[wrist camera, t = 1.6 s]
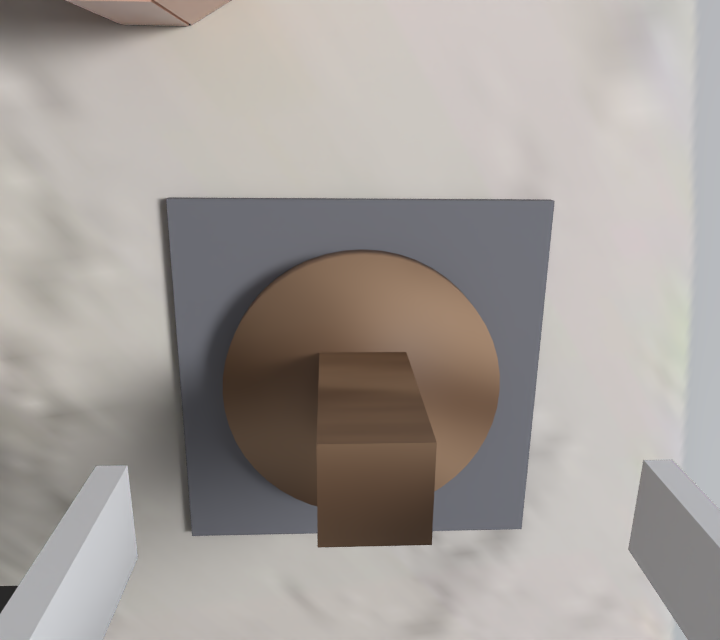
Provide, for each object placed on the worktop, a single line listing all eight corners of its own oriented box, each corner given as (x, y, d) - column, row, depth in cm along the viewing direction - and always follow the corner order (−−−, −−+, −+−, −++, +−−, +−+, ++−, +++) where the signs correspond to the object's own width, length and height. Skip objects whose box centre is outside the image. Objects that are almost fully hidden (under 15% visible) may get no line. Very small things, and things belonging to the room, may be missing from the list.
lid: (483, 493, 27) (545, 644, 20) (233, 498, 27) (195, 654, 19) (501, 249, 24) (584, 312, 17) (219, 249, 24) (167, 314, 16)
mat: (518, 523, 28) (521, 529, 28) (194, 529, 28) (192, 535, 27) (550, 199, 24) (554, 201, 24) (168, 197, 24) (166, 198, 23)
